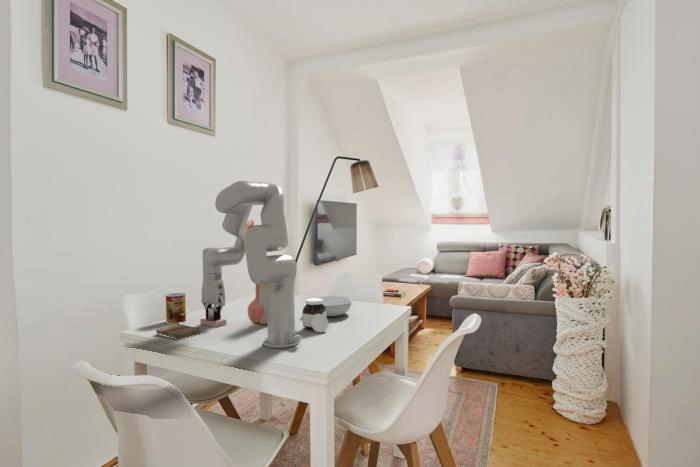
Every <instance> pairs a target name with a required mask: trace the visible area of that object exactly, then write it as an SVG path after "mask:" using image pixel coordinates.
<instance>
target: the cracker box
mask: <svg viewBox="0 0 700 467" xmlns="http://www.w3.org/2000/svg"><path fill="white" fill-rule="evenodd" d="M270 284H271V283H269V284H263V285H258V286H259V287H258V288H259V289H258V290H259V292H258V296H259V299H258V301H259V302H258V304H259V303H261V304H262V305H263V306H264V314H263V318H262V320H261V321H260V322H259V325H265V326H268V317H267V293H268V289H269V286H270Z"/></svg>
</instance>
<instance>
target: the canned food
mask: <svg viewBox="0 0 700 467" xmlns="http://www.w3.org/2000/svg"><path fill="white" fill-rule="evenodd" d="M186 306H187V305H186V293H184V292H176V293H175V292H174V293H173V292H172V293H167V294H165V311H166V312H165V316H166V318H165V319H166V323H167V322H168V323H177V324H180V323H179V322H182V323H185V322H186V321H187V311H186V309H187V308H186ZM184 321H185V322H184ZM168 323H167V324H168Z"/></svg>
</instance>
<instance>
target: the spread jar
mask: <svg viewBox="0 0 700 467" xmlns="http://www.w3.org/2000/svg"><path fill="white" fill-rule="evenodd" d="M322 303H323V299H320V298H315V297H312V298H307V299H306V300H305V305H304V307H303V309H302V313H301V317H302V318H301V321H302V326H303V328H305V329H306V330H308V331H314V332H316V333H323V332H326V330H327V329H328V327H329V320H328V317H327V311H326V307H325V306H324V305H323V304H322Z"/></svg>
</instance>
